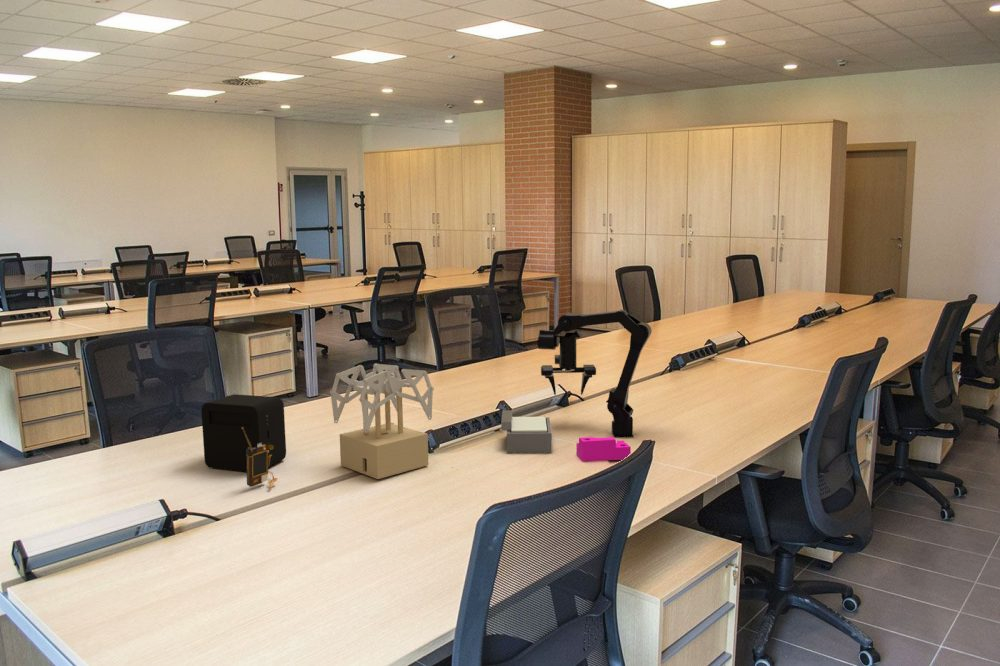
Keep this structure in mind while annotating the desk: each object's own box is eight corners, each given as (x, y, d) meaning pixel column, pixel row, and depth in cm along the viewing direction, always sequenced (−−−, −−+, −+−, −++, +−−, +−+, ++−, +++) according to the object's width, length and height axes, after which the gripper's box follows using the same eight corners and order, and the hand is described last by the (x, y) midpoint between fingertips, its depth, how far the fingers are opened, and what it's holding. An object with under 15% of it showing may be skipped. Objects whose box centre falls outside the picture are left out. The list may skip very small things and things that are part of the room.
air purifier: (290, 459, 239) (287, 396, 236) (261, 473, 225) (257, 406, 223) (235, 454, 245) (232, 392, 243) (204, 467, 232) (200, 402, 229)
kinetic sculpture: (368, 481, 216) (365, 376, 213) (330, 466, 231) (325, 368, 227) (436, 462, 233) (434, 365, 230) (396, 450, 248) (393, 357, 244)
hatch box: (549, 435, 263) (549, 417, 262) (551, 453, 242) (551, 433, 241) (508, 435, 263) (508, 417, 262) (507, 453, 242) (506, 433, 241)
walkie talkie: (252, 494, 207) (248, 429, 205) (224, 485, 215) (220, 422, 213) (292, 481, 218) (289, 419, 215) (264, 473, 226) (261, 413, 223)
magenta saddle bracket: (582, 441, 232) (576, 435, 239) (582, 461, 232) (576, 454, 240) (630, 438, 234) (623, 432, 241) (630, 458, 235) (622, 452, 242)
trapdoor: (545, 418, 260) (545, 409, 260) (547, 432, 242) (546, 422, 242) (502, 418, 261) (502, 409, 261) (501, 432, 243) (501, 422, 243)
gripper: (592, 346, 273) (592, 389, 275) (540, 347, 273) (540, 390, 275) (596, 351, 262) (596, 396, 264) (541, 351, 262) (541, 396, 264)
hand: (568, 394), depth 267 cm, fingers open, 9 cm apart
